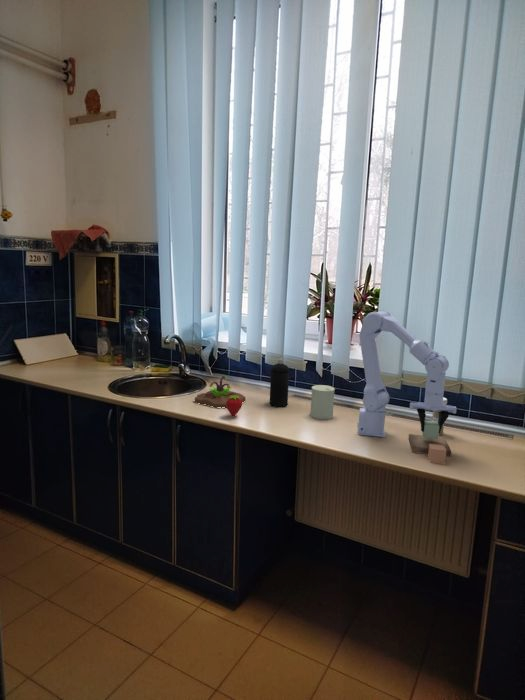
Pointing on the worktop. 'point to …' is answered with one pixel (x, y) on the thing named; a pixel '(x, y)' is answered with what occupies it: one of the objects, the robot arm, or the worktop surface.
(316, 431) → the worktop surface
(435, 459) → the terracotta cube
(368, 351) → the robot arm
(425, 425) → the sage cube
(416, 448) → the walnut base
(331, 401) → the can
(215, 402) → the plant
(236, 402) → the strawberry
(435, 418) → the sprinkles bottle
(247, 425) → the worktop surface
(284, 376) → the aerosol can
